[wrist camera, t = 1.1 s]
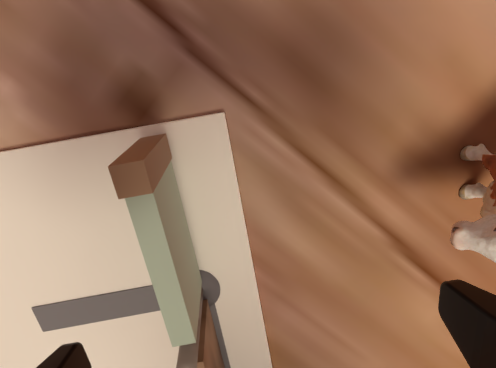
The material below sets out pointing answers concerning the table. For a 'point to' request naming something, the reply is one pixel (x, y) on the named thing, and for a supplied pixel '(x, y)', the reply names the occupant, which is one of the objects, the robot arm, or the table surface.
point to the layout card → (119, 251)
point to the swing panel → (161, 232)
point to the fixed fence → (202, 343)
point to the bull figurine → (492, 212)
